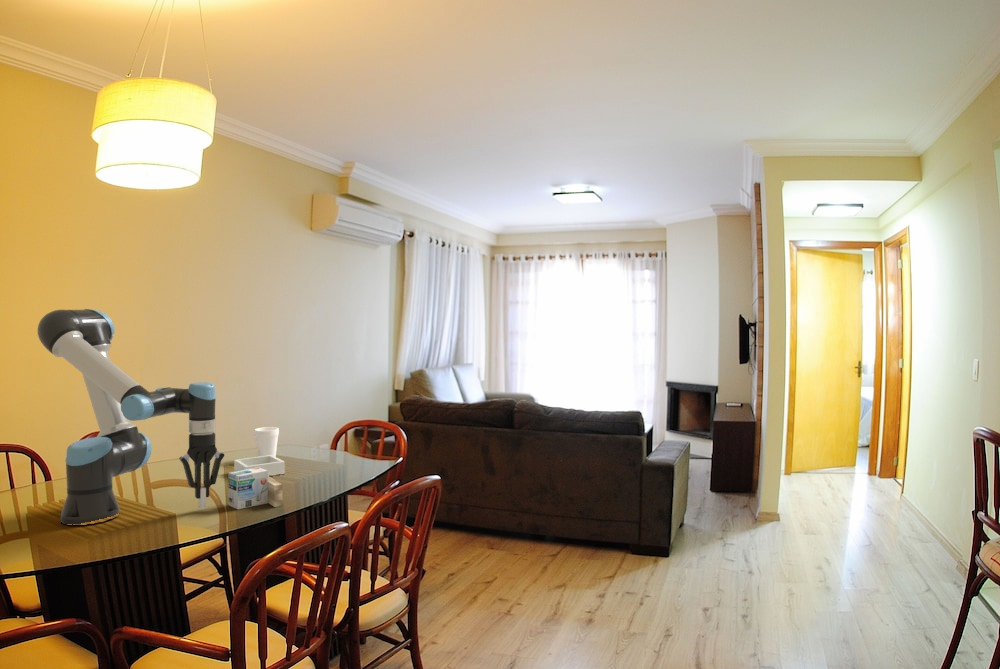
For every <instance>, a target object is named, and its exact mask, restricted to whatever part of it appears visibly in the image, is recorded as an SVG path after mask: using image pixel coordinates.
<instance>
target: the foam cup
mask: <svg viewBox="0 0 1000 669" xmlns="http://www.w3.org/2000/svg"><path fill="white" fill-rule="evenodd" d="M279 429H280V428H279V427H276V426H265V427H257V428H255V429H254V437H255V443H256V449H257V457H260V456H267V455H273V456H275V457H277V456H276V455H277V448H278V441H279V440H278V439H279V434H280V430H279Z"/></svg>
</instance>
